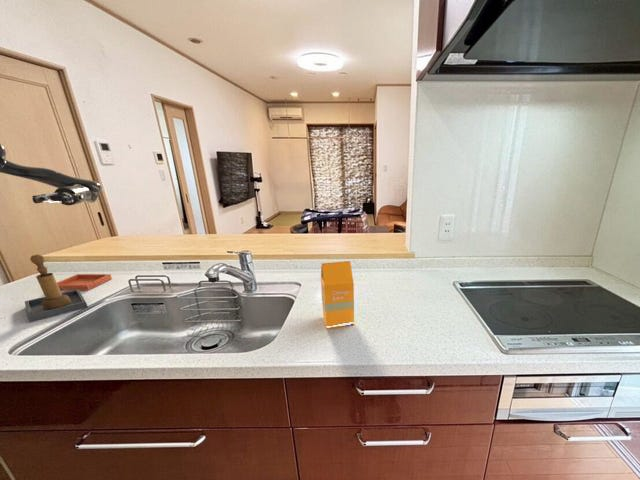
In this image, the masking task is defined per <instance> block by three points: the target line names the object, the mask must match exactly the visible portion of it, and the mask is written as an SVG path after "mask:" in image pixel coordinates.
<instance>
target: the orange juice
mask: <svg viewBox="0 0 640 480" xmlns="http://www.w3.org/2000/svg"><path fill="white" fill-rule="evenodd" d="M353 278H354V277H353V271H352V264H351V260H348V261H336V262H335V261H334V262H323V263H321V270H320V285H321V286H320V287H321V303H322V305H321V306H322V319H323V322H324V324H325V323H326V325H325V329H326V330H329V329H337V328H343V327H342V326H338V327H331V328H326V326H333V325H338V324H343V323H349V322H354V323H355V293H354V292H355V287H354V284H355V283H354V279H353ZM323 316H324V318H323ZM324 320H325V321H324Z"/></svg>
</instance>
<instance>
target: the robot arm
mask: <svg viewBox="0 0 640 480" xmlns="http://www.w3.org/2000/svg"><path fill="white" fill-rule="evenodd" d="M0 173H1V174H5V175H10V176H14V177H19V178H23V179H26V180H31V181H34V182H38V183H41V184H45V185H48V186H50V187H53V188H56V189H55V191H54V192H52V193H41V194H37V195H32V196H31V198H32V202H33V203H34V204H42V203H43V204H44V203H47V204H51V203H59V204H61V205H64V206H74V205H78V204H81V203H83V202H86V203H95V202H96V201H98V199H99V196H100V195H101V191H102V185H101V184H100V183H98V182H97V181H95V180H92V179H91V180H90V179H84V178H80V177H74V176H70V175H67V174H65V173H62V172H60V171H56V170H54V169H50V168H46V167H35V166H26V165H22V164H18V163H14V162H12V161H9V160H7V151H6V149H5V147H4V146H3V145H2V144H1V143H0Z"/></svg>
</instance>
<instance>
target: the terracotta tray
mask: <svg viewBox="0 0 640 480" xmlns="http://www.w3.org/2000/svg"><path fill="white" fill-rule="evenodd" d="M112 279H113V278H112V274H110V273H76V274H73V275H72V276H69V277H66V278H64V279H63V280H62V279H61V280H60V281H56V282H57V285H58V287H59V289H60V291H72V290H76V289H79V291H90V290H92V289H95V288H96V287H98V286H100V285H102V284H104V283H106V282H108V281H111V280H112Z"/></svg>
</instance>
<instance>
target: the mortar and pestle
mask: <svg viewBox="0 0 640 480" xmlns="http://www.w3.org/2000/svg"><path fill="white" fill-rule="evenodd" d="M30 262H31V263H32V264H34V265H36V266H37V268H36V271H37V272H38V273H39V274H38V275H36V276H35V278H36V280H37V282H38V284H39V286H40V289H41V290H42V294H43V296H44V297H45V299H44V300H43V301H42V302H41V303H42V305H43V308H44V309H55V308H59V307H63V306H65V305H68V304H69V303H71V301H70V299H69V296H67V295H64V294H61V293H62V292H61V291H62V290H60V289H59V287H58V285H57V282H58V281H57V280H56V277H55V275H54V273H53V272H48V267H47V266H45V265H44V263H45V257H44V256H43V255H41V254H33V255H31V256H30Z"/></svg>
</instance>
